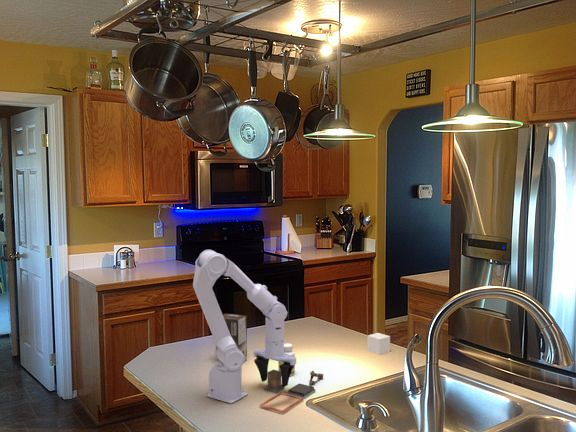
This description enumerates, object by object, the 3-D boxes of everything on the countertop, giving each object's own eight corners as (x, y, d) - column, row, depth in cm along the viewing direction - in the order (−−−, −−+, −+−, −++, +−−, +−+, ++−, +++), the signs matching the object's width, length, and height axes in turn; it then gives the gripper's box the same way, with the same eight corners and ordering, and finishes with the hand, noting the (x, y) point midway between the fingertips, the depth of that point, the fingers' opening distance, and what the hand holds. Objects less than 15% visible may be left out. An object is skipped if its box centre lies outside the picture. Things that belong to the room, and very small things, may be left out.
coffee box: (247, 360, 193) (247, 315, 192) (238, 365, 188) (238, 319, 186) (225, 356, 197) (225, 312, 196) (216, 361, 191) (216, 316, 190)
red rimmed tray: (259, 407, 154) (259, 404, 154) (280, 394, 163) (280, 392, 163) (283, 414, 149) (283, 411, 149) (303, 401, 158) (303, 398, 158)
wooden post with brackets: (306, 384, 169) (308, 369, 170) (316, 386, 176) (318, 372, 177) (311, 385, 168) (313, 370, 169) (321, 387, 175) (323, 373, 176)
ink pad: (287, 394, 163) (287, 389, 163) (298, 387, 168) (298, 382, 168) (304, 399, 160) (304, 394, 160) (315, 391, 165) (315, 386, 165)
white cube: (377, 348, 208) (377, 332, 208) (389, 351, 204) (390, 336, 203) (367, 351, 204) (367, 335, 204) (379, 355, 200) (379, 339, 199)
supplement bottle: (296, 372, 182) (296, 343, 181) (292, 377, 177) (292, 348, 176) (280, 370, 183) (281, 341, 183) (276, 376, 178) (276, 346, 177)
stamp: (264, 390, 166) (264, 372, 166) (272, 385, 170) (272, 368, 170) (276, 393, 164) (276, 375, 164) (284, 388, 168) (284, 371, 167)
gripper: (301, 340, 165) (301, 384, 166) (262, 332, 173) (262, 374, 174) (289, 346, 159) (288, 391, 160) (249, 338, 167) (249, 381, 168)
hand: (274, 383), depth 167 cm, fingers open, 7 cm apart
